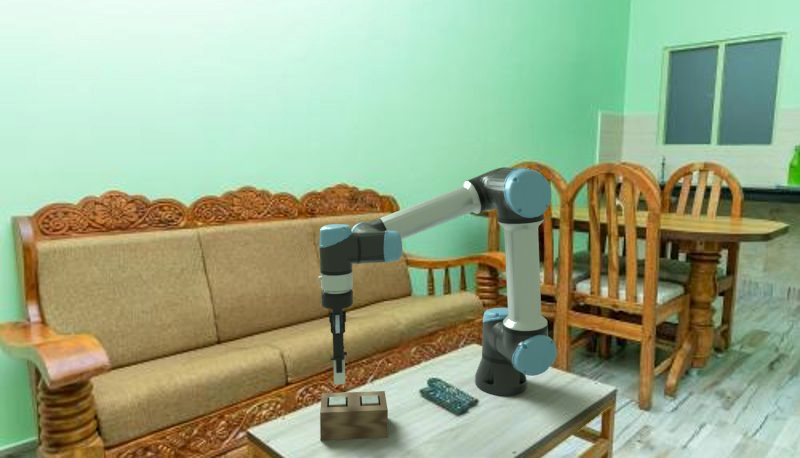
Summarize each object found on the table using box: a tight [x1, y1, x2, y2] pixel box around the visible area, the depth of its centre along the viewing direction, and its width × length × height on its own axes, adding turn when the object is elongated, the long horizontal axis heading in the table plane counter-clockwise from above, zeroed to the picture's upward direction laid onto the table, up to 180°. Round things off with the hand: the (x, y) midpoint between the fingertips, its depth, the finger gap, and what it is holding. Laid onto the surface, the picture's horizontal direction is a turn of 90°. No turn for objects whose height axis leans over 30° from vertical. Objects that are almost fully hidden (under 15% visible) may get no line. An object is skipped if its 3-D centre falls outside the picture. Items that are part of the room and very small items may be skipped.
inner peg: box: [362, 395, 379, 406], centre depth 129 cm, size 4×4×6 cm
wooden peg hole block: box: [319, 390, 389, 441], centre depth 129 cm, size 16×10×7 cm, turn 96°
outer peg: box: [329, 396, 346, 407], centre depth 128 cm, size 4×4×6 cm
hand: (339, 382), depth 127 cm, fingers closed
